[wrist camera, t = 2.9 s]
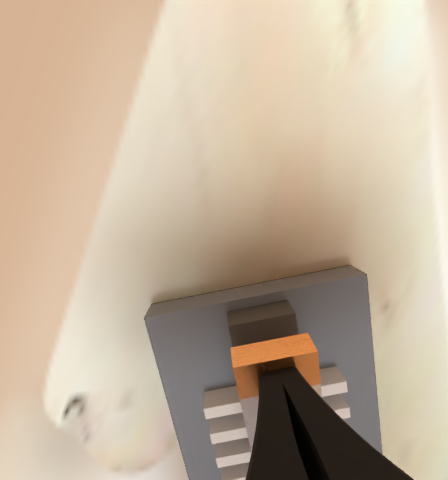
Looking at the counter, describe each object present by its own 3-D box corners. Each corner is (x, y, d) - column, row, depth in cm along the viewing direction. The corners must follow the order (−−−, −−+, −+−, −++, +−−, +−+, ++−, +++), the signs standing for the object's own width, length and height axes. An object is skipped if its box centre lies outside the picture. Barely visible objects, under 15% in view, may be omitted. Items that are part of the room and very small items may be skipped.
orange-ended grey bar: (326, 518, 14) (335, 545, 13) (270, 529, 14) (274, 556, 13) (307, 332, 10) (318, 351, 9) (230, 347, 10) (232, 368, 9)
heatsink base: (369, 456, 17) (433, 566, 12) (201, 489, 17) (195, 611, 12) (351, 265, 14) (422, 306, 9) (151, 304, 14) (118, 365, 10)
